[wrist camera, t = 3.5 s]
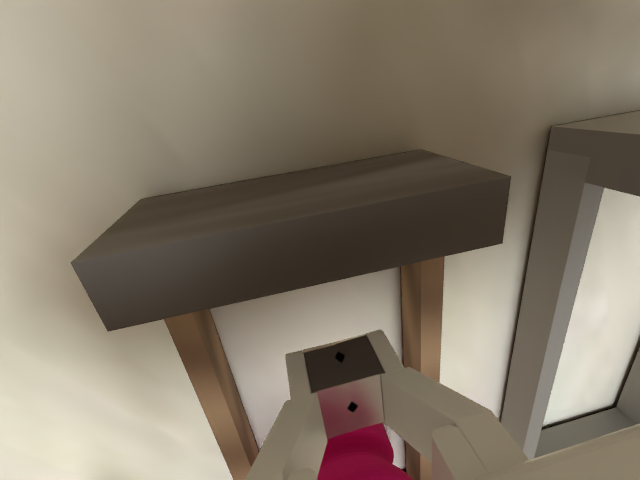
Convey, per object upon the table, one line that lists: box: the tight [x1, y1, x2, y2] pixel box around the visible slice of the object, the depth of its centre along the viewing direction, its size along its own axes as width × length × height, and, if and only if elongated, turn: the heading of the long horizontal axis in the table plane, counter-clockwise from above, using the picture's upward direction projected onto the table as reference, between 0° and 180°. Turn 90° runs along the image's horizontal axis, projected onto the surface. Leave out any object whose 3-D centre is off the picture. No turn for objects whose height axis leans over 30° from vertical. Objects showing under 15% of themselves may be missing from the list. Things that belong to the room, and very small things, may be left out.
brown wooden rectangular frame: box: [71, 150, 511, 480], centre depth 15 cm, size 24×11×5 cm, turn 8°
